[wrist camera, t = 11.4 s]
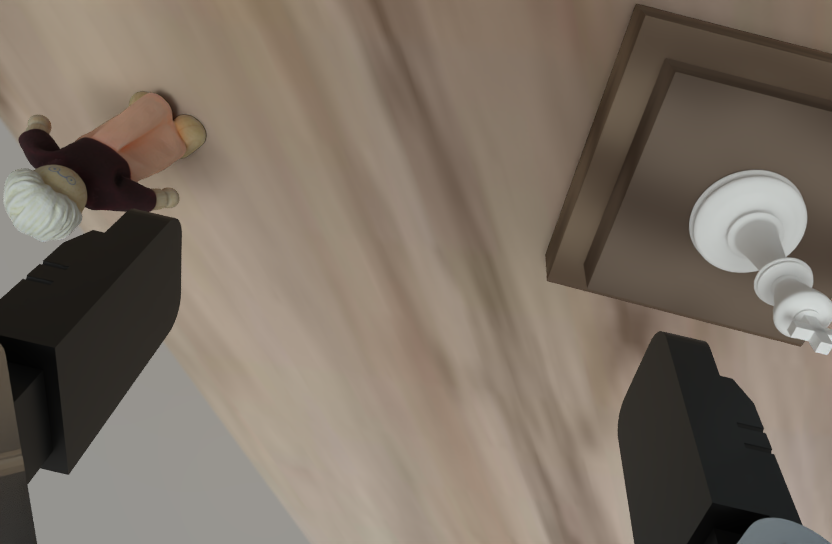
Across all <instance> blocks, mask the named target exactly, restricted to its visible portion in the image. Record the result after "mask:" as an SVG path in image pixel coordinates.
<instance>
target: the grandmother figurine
mask: <svg viewBox="0 0 832 544" xmlns="http://www.w3.org/2000/svg"><path fill="white" fill-rule="evenodd" d="M172 119H173V117H172V111H171V108H170V106H169V104H168V103H167V102H166V101H165V100H164V99H163V98H162V97H161V96H159V95H157V94H155V93H151V92H150V93H147V92H137V93H135V94H134V95H133V96H132V97H131V99H130V102H129V107H128V108H127V109H125V110H124V111H123V112H121V113H120V114H119V115H117V116H115V117H113V118H112V119H110V120H109V121H107V122H105V123H104V124H102V125H101V126H99V127H97V128H96V129H94V130H93V131H91V132H89V133H87V134H85V135H83V136H81V137H79V138H78V139H77V140H76V141H75V142H74V143H72V144H69V145H68V146H66V147H64V148H61V149H60V148H59V147H58V145H57V144H56V143H55V141H54V140H53V138H52V137H51V136H50V135H49V133H50V131H51V123H50V121H49V119H47V118H46V117H45V116H43V115H34V116H32V117H30V119H29V120H28V127H27V128H26V131H25V132H23V133H22V134H21V135H20V137H19V143H20V146H21V148H22V149H23V151H24V153H25V155H26V157H27V159H28V161H29V162H30V164H31V165H32V166H33V167H34V168H35V170H30V169H18V170H15V171H13V172H12V173H11V174H10V175H9V176H8V178H7V180H6V182H5V186H4V198H3V200H4V206H5V210H6V212H7V214H8V215H9V217H10V219H11V220H12V221H13V225H14V226H15V227H16V228H17V230H18V231H19V232H22V233H24V234H27V235H30V236H32V237H34V238H35V239H37V240H39V241H42V242H45V241H49V240H62V239H64V238H66V237H67V236H68V235H70V234H71V233H72V231H73V230H74V229H75V228H76V227H77V226H78V225H79V224H80V223H81V221H82V214H81V213H82V211H83V209H84V208H85V207H86V208H88V209H91V210H112V211H125V212H127V211H128V210H130V209H137V210H141V211H146V212H150V211H152V210H158V209H162V208H164V207H165V208H172V207H175V206H176V205H177V204H178V202H179V194H178V193H177V191H176V190H174V189H173V188H164V189H162V190H161V189H150V188H147V187H144V186H143V185H140V184H139V183H137V182H138V181H139V180H141V179H144V178H147V177H149V176H151V175H153V174H156V173H158V172H160V171H162V170H164V169H166V168H167V167H168V166H170V165H171V164H172V163H174V162H175V161H176V160H178V159H179V158H185V157H187V156H189V155H190V154H191V153H193V152H194V151H195V150H196V149H198V148H199V147H200V146H201V145H202V144H203V143H204V142H205V138H206V132H205V129H204V127H203V125H202V124H201V123H200V122H199V121H198V120H196V119H195V118H194V117H192V116H189V115H180V116H178V117H176V118H175V119H174V121H173V120H172Z"/></svg>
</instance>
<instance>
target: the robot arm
mask: <svg viewBox="0 0 832 544" xmlns="http://www.w3.org/2000/svg"><path fill="white" fill-rule="evenodd" d="M181 246H182V230H181V224H180V222H179V220H178V219H176V218H172V217H168V216H163V215H159V214H155V213H150V212H146V211H141V210H137V209H130V210H128V211H127V212H126V213H125V214H124V215H123V216H122V217H121V218H120V219H119V220H118V221H117V222H115V223H114V224H113V225H112V226H111V227H110V228H109V229H108V230H107V231H106V232H105V233H103V232H99V231H95V230H92V231H90V232H87V233H85V234H83V235H80V236H78V237H76V238H73V239H71V240H69V241H66V242H64V243H62V244H61V245H60V246H59V247H58V248H57V249H56V250H55V251H53V253H51V254H50V255H49V256H48V257H47V258H46V259H45V260H43V264H42V265H41V264H39V265H38V266H37V267H36V268H35V269H33V270H32V271H31V272H30V273H29V274H28V275H27V278H26V280H25V279H22V280H21V281H20V282H19V283H18V284H17V285H16V286H14V287H13V288H12V289H11V290H10V291H9V292H8V293H7V294H6V295H4V296H3V297H2V298H1V299H0V544H37V541H36V535H35V529H34V522H33V516H32V511H31V504H30V498H29V492H28V486H27V484H28V483H29V482H30V481H31V479H32V478H33V476H34V475H35V474H36V472H37V471H38V470H39V469H40V468H42V469H46V470H50V471H54V472H59V473H63V474H69V473H70V472H71V471H72V469H73V468H74V466H75V465H76V464H77V462H78V461H79V459H80V458H81V457H82V455H83V454H84V452H85V451H86V449H87V448H88V447H89V445H90V444H91V442H92V441H93V440H94V438H95V437H96V435H97V434H98V433H99V431H100V430H101V428H102V427H103V425H104V424H105V423H106V421H107V420H108V418H109V417H110V415H111V414H112V413H113V411H114V410H115V408H116V407H117V406H118V404H119V403H120V401H121V400H122V399H123V397H124V396H125V394H126V393H127V391H128V390H129V389H130V387H131V386H132V384H133V383H134V382H135V380H136V378H137V377H138V376H139V374H140V373H141V372H142V370H143V369H144V367H145V366H146V364H147V363H148V361H149V360H150V359H151V358H152V356H153V355H154V353H155V352H156V350H157V349H158V348H159V346H160V345H161V343H162V342H163V341H164V339H165V338H166V336H167V335H168V333H169V332H170V330H171V329H172V327H173V324H174V322H175V320H176V317H177V314H178V310H179V305H180V299H181ZM763 429H764V428H763V425H762V423H761V420H760V418H759V415H758V413H757V410H756V408H755V405H754V403H753V402H752V401H751V400H750V398H749V397H748V396H747V395H746V394H745V393H744V392H743V390H742V389H741V388H740V387H739V386H738V385H737V383H736V382H735V381H734V380H733V379H731V378H727V377H723V376H720V375H719V372H718V369H717V366H716V364H715V361H714V358H713V355H712V352H711V350H710V347H709V345H708V344H707V342H705V341H701V340H697V339H693V338H688V337H684V336H680V335H675V334H671V333H667V332H662V331H659V332H657V333H656V334H655V335H654V337H653V338H652V340H651V342H650V344H649V346H648V348H647V350H646V352H645V355H644V357H643V359H642V361H641V363H640V365H639V368H638V370H637V372H636V374H635V376H634V378H633V381H632V383H631V385H630V387H629V389H628V391H627V394H626V396H625V398H624V400H623V403H622V406H621V410H620V414H619V420H618V440H619V447H620V453H621V460H622V466H623V473H624V479H625V486H626V492H627V499H628V505H629V512H630V518H631V525H632V531H633V537H634V544H831V543H829V542H828V541H827V540H826V539H824V538H823V537H822V536H820V535H819V534H817V533H815V532H814V531H812V530H811V529H809V528H807V527H805V526H803V525H802V523H801V520H800V518H799V515H798V513H797V510H796V508H795V505H794V503H793V500H792V498H791V495H790V493H789V490H788V488H787V485H786V483H785V480H784V478H783V475H782V473H781V470H780V468H779V465H778V463H777V460H776V458H775V455H774V454H771V450H772V448H771V445H770V443H769V440H768V438H767V435H766V433H763Z"/></svg>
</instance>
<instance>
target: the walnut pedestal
mask: <svg viewBox="0 0 832 544" xmlns="http://www.w3.org/2000/svg"><path fill="white" fill-rule="evenodd" d="M746 170H765V171H770V172H774V173H777V174H779V175H781V176H783V177H785V178H787V179H788V180H789V181H791V182H792V183H793V184H794V185H795V186H796V187H797V189H798V190H799V192H800V193H801V195H802V198H803V201H804V203H805V206H806V210H807V225H806V229H805V232H804V235H803V237H802V239H801V241H800V242H799V244H798V245H797V247H796V248H795V249H794V250H793V251H792V252H791V253H790V254H789V255H788V256H787V257H788V258H796V259H799V260H802V261H803V262H805V263H806V264H807V265H808V266H809V267H810V268H811V270H812V273H813V286H812V288H813V289H815V290H818V291H819V292H821V293H823V294H824V295H826V296H827V297H828V298H829V299H830V300H831V298H832V54H829V53H825V52H822V51H818V50H814V49H810V48H806V47H802V46H798V45H794V44H791V43H787V42H783V41H779V40H775V39H771V38H767V37H763V36H760V35H756V34H752V33H748V32H744V31H740V30H736V29H732V28H729V27H725V26H721V25H717V24H713V23H709V22H705V21H701V20H698V19H694V18H690V17H686V16H682V15H678V14H674V13H671V12H667V11H663V10H659V9H655V8H651V7H647V6H643V5H640V4H636V6H635V8H634V11H633V14H632V17H631V20H630V22H629V25H628V28H627V31H626V33H625V36H624V39H623V42H622V44H621V47H620V50H619V53H618V56H617V58H616V61H615V64H614V67H613V69H612V72H611V75H610V78H609V80H608V83H607V86H606V89H605V91H604V94H603V97H602V100H601V103H600V105H599V108H598V111H597V114H596V116H595V119H594V122H593V125H592V127H591V130H590V133H589V136H588V138H587V141H586V144H585V147H584V150H583V152H582V155H581V158H580V161H579V163H578V166H577V169H576V172H575V174H574V177H573V180H572V183H571V186H570V188H569V191H568V194H567V197H566V199H565V202H564V205H563V208H562V210H561V213H560V216H559V219H558V221H557V224H556V227H555V230H554V233H553V235H552V238H551V241H550V244H549V246H548V249H547V252H546V272H547V281H549V282H553V283H557V284H561V285H564V286H568V287H572V288H576V289H580V290H584V291H588V292H592V293H595V294H599V295H603V296H607V297H611V298H615V299H619V300H622V301H626V302H630V303H634V304H638V305H642V306H646V307H649V308H653V309H657V310H661V311H665V312H669V313H673V314H676V315H680V316H684V317H688V318H692V319H696V320H700V321H703V322H707V323H711V324H715V325H719V326H723V327H727V328H731V329H734V330H738V331H742V332H746V333H750V334H754V335H758V336H761V337H765V338H769V339H773V340H777V341H781V342H785V343H788V344H792V345H796V346H800V347H801V345H803V343H804V342H805V340H801V339H797V338H791V337H788V336H785V335H784V334H782V333H781V332H780V331H779V330H778V329H777V328H776V326H775V324H774V321H773V307H774V306H772V305H769V304H767V303H765V302H764V301H762V300H761V299H760V298H759V297H758V296H757V295H756V293H755V290H754V280H755V277H756V275H757V273H758V272H759V271H755V272H747V273H737V272H730V271H726V270H722V269H720V268H717V267H715V266H714V265H712V264H710V263H709V262H708V261H707V260H705V259H704V258H703V256H702V255H701V254H700V253H699V252H698V251H697V249H696V248H695V246H694V244H693V242H692V240H691V237H690V232H689V221H690V216H691V212H692V209H693V207H694V205H695V203H696V202H697V200H698V199H699V197H700V196H701V195H702V194H703V192H704V191H705V190H706V189H707V188H709V187H710V186H711V185H712V184H714V183H715V182H717V181H718V180H720V179H722V178H724V177H726V176H728V175H731V174H733V173H737V172H741V171H746ZM787 257H786V258H787Z"/></svg>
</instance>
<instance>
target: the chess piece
mask: <svg viewBox="0 0 832 544" xmlns="http://www.w3.org/2000/svg"><path fill="white" fill-rule="evenodd" d="M806 225H807V210H806V206H805V203H804V201H803V198H802V195H801V193H800V192H799V190H798V189H797V187H796V186H795V185H794V184H793V183H792V182H791V181H789V180H788V179H787V178H785V177H783V176H781V175H779V174H777V173H774V172H770V171H765V170H746V171H741V172H737V173H733V174H731V175H728V176H726V177H724V178H722V179H720V180H718V181H717V182H715V183H714V184H712V185H711V186H710V187H709V188H707V189H706V190H705V191H704V192H703V194H702V195H701V196H700V197H699V199H698V200H697V202H696V203H695V205H694V207H693V209H692V212H691V216H690V221H689V232H690V237H691V240H692V242H693V244H694V246H695V248H696V249H697V251H698V252H699V253H700V254H701V255H702V256H703V258H704V259H705V260H707V261H708V262H709V263H710V264H712V265H714V266H715V267H717V268H720V269H722V270H726V271H730V272H737V273H747V272H755V271H759V272H758V273H757V275H756V277H755V280H754V290H755V293H756V295H757V296H758V297H759V298H760V299H761V300H762V301H764V302H765V303H767V304H769V305H772V306H774V307H773V321H774V324H775V326H776V328H777V329H778V330H779V331H780V332H781V333H782V334H784V335H785V336H788V337H791V338H797V339H801V340H805V341H809V343H810V345H811V346H812V348H813V350H814V351H815V352H817V353H821V354H825V355H828V353H829V352H830V350H831V348H832V329H828V328H827V327H828V326H829V325H830V323H831V321H832V302H831V300H830V299H829V298H828V297H827V296H826V295H824V294H823V293H821V292H819V291H818V290H815V289H813V288H812V286H813V273H812V270H811V268H810V267H809V266H808V265H807V264H806V263H805V262H803V261H802V260H799V259H796V258H788V257H787V256H788V255H789V254H790V253H791V252H792V251H793V250H794V249H795V248H796V247H797V245H798V244H799V242H800V241H801V239H802V237H803V235H804V232H805V229H806ZM786 257H787V258H786Z"/></svg>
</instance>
